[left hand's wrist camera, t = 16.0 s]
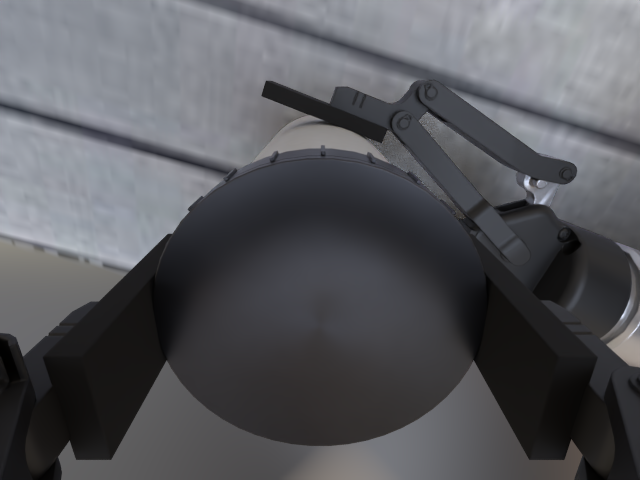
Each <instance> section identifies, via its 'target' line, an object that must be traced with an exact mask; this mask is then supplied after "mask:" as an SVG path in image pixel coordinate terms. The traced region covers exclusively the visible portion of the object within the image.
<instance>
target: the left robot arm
mask: <svg viewBox="0 0 640 480" xmlns="http://www.w3.org/2000/svg"><path fill="white" fill-rule="evenodd" d="M468 235H469V236H470V238H471V239H472V242H473V244H474V246H475V247H476V249H477V252H478V255H479V257H480V259H481V263H482V266H483V270H484V273H485V277H486V285H487V293H488V308H487V315H486V320H485V326H484V331H483V336H482V341H481V344H480V347H479V350H478V352H477V354H476V356H475V358H474V361H475V363H476V365H477V367H478V368H479V370H480V372H481V374H482V376H483V377H484V379H485V381H486V383H487V385H488V386H489V388H490V390H491V392H492V394H493V395H494V397H495V399H496V401H497V403H498V404H499V406H500V408H501V410H502V411H503V413H504V415H505V417H506V419H507V420H508V422H509V424H510V426H511V428H512V429H513V431H514V433H515V435H516V437H517V438H518V440H519V442H520V444H521V446H522V447H523V449H524V451H525V453H526V455H527V456H528V458H529V460H564V459H565V456H566V453H567V450H568V447H569V444H570V441H571V439H572V440H573V442H574V443H575V445H576V446H577V447H578V449H579V450H580V452H581V453H582V454H583V456H582V459H581V462H580V465H579V467H578V470H577V473H576V476H575V479H574V480H640V367H633V366H629V365H628V364H627V363H626V362H625V361H624V360H622V359H621V358H620V357H619V356H618V355H617V354H616V353H615V352H614V351H613V350H611V349H610V348H609V347H608V346H607V345H606V344H605V343H604V342H603V341H602V340H600V339H599V338H598V337H597V336H596V335H593V334H592V331H591V330H589V329H588V328H587V327H586V326H585V325H582V324H581V321H580V320H578V319H577V318H576V317H575V316H574V315H573V314H572V313H571V312H570V311H569V310H567V309H565V308H563V307H561V306H559V305H558V304H556V303H554V302H552V301H550V300H539V299H538V298H537V297H536V296H535V295H534V294H533V293H532V292H531V291H530V290H529V289H528V288H527V287H526V286H525V285H524V284H523V283H522V282H521V281H520V280H519V279H518V278H517V277H516V276H515V275H514V274H513V273H512V272H511V271H510V270H509V269H508V268H507V267H506V266H505V265H504V264H503V263H502V262H501V261H500V260H498V259H497V258H496V257H495V256H494V255H493V254H492V253H491V252H490V251H489V250H488V249H487V248H486V247H485V246H484V245H483V244H482V243H481V242H480V241H479V240H478V239H477V238H476V237H475V236H474V235H473V234H468ZM171 236H172V234H167V235H166V236H165V237H164V238H163V239H162V240H161V241H160V242H159V243H158V244H157V245H156V246H155V247H154V248H153V249H152V250H151V251H150V252H149V253H148V254H147V255H146V256H145V257H144V258H143V259H142V260H141V261H140V262H139V263H138V264H137V265H136V266H135V267H134V268H133V269H132V270H131V271H130V272H129V273H128V274H127V275H126V276H125V277H124V278H123V279H122V280H121V281H120V282H119V283H117V284H116V285H115V286H114V287H113V288H112V289H111V290H110V291H109V292H108V293H107V294H106V295H105V296H104V297H103V298H102V299H101V300H100V301H99V302H89V303H87V304H86V305H84V306H82V307H80V308H78V309H77V310H75V311H73V312H72V313H70V314H69V315H68V316H67V317H66V318H65V319H64V320H63V321H62V322H61V323H60V325H59V326H56V327H55V328H54V329H53V330H52V331H51V332H50V333H49V336H45V337H44V338H43V339H42V340H41V341H40V342H39V343H38V344H37V345H36V346H34V347H33V348H32V349H31V350H30V351H29V352H28V353H27V354H26V355H25V356H24V357H23V356H22V353H21V350H20V348H19V345H18V342H17V339H16V337H14V336H12V335H10V334H4V333H0V480H61V475H62V471H61V465H60V462H59V459H58V456H59V455H60V453H61V452H62V450H63V449H64V447H65V446H66V445H67V443H68V442H69V440H70V442H71V446H72V449H73V452H74V455H75V458H76V460H111V459H112V457H113V455H114V454H115V452H116V450H117V448H118V446H119V445H120V443H121V441H122V439H123V437H124V436H125V434H126V432H127V430H128V428H129V427H130V425H131V423H132V421H133V420H134V418H135V416H136V414H137V412H138V411H139V409H140V407H141V405H142V403H143V402H144V400H145V398H146V396H147V394H148V393H149V391H150V389H151V387H152V385H153V384H154V382H155V380H156V378H157V376H158V375H159V373H160V371H161V369H162V367H163V366H164V364H165V362H166V360H167V359H166V357H165V355H164V353H163V351H162V348H161V345H160V342H159V338H158V334H157V328H156V323H155V317H154V311H153V289H154V281H155V275H156V272H157V268H158V265H159V261H160V258H161V256H162V253H163V251H164V249H165V245H166V243H167V242H168V241H169V239H170V237H171Z"/></svg>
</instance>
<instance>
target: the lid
mask: <svg viewBox="0 0 640 480" xmlns="http://www.w3.org/2000/svg"><path fill="white" fill-rule="evenodd" d="M188 210H189V211H190V212H189V213H188V214H187V215H186V216H185V218H184V219H183V220H182V221H181V222H180V224H179V225H178V227H177V228H176V230H175V231H174V233H173V234H172V236H171V237H170V239H169V241H168V242H167V243H166V245H165V249H164V251H163V253H162V256H161V258H160V261H159V265H158V268H157V272H156V275H155V281H154V289H153V311H154V317H155V323H156V328H157V334H158V338H159V342H160V345H161V348H162V351H163V353H164V355H165V357H166V359H167V361H168V363H169V365H170V367H171V369H172V370H173V371H174V373H175V374H176V376H177V377H178V379H179V380H180V382H181V383H182V384H183V385H184V386H185V388H186V389H187V390H188V391H189V392H190V393H191V394H192V395H193V396H194V397H195V398H196V399H197V400H198V401H199V402H200V403H202V404H203V405H204V406H205V407H206V408H207V409H209V410H210V411H212V412H213V413H214V414H216V415H217V416H219V417H220V418H222V419H223V420H225V421H227V422H229V423H231V424H232V425H234V426H236V427H238V428H240V429H242V430H245V431H247V432H250V433H252V434H255V435H257V436H261V437H264V438H267V439H271V440H274V441H280V442H284V443H289V444H297V445H307V446H333V445H344V444H351V443H356V442H361V441H366V440H370V439H373V438H376V437H380V436H383V435H386V434H388V433H391V432H393V431H396V430H398V429H400V428H403V427H404V426H406V425H408V424H410V423H412V422H414V421H415V420H417V419H419V418H420V417H422V416H423V415H425V414H426V413H428V412H429V411H430V410H432V409H433V408H434V407H436V406H437V405H438V404H439V403H440V402H441V401H442V400H444V399H445V398H446V397H447V396H448V395H449V394H450V392H451V391H452V390H453V389H454V388H455V387H456V386H457V385H458V384H459V382H460V381H461V379H462V378H463V377H464V375H465V374H466V372H467V371H468V369H469V368H470V366H471V364H472V362H473V360H474V358H475V356H476V354H477V352H478V350H479V347H480V344H481V341H482V336H483V331H484V326H485V320H486V315H487V308H488V293H487V285H486V277H485V273H484V270H483V266H482V263H481V259H480V257H479V255H478V252H477V249H476V247H475V246H474V244H473V242H472V239H471V238H470V236H469V235H468V233H467V232H466V230H465V229H464V227H463V226H462V224H461V223H460V221H459V220H458V219H457V218H456V217H455V216H454V215H455V214H456V213H455V211H454V210H453V209H452V208H451V207H450V206H448V205H447V204H446V203H445V202H444V201H443V200H439V199H438V198H437V197H436V196H435V195H434V194H433V193H432V192H431V191H430V190H428V189H427V188H426V187H425V186H424V185H422V184H421V181H420V180H419V179H418V178H417V177H416V176H415V175H414V174H413V173H412V172H410V171H409V172H408V173H406V172H404V171H403V170H401V169H399V168H398V167H396V166H394V165H392V164H389V163H387V162H385V161H382V160H380V159H378V158H375V157H374V156H373V155H372V153H370V152H367V155H365V154H361V153H358V152H354V151H347V150H340V149H332V148H325V145H321V148H308V149H301V150H293V151H287V152H283V153H278V151H274V152H273V154H272V155H271V156H268V157H265V158H263V159H260V160H258V161H256V162H253V163H251V164H249V165H246V166H245V167H243V168H241V169H240V170H238V171H237V170H236V168H235V169H233V170H232V171H231V172H230V173H229V174H228V175H227V176H226V177H225V178H224V180H223V181H222V182H221V183H219V184H218V185H217V186H216V187H214V188H213V189H212V190H211V191H210V192H209V193H208V194H207V195H206V196H205V197H203V196H201V197H200V198H199V199H198V200H197V201H196V202H194V203H193V204H192V205H191V206H190V207H189V208H188Z"/></svg>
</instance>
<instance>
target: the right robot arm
mask: <svg viewBox="0 0 640 480" xmlns="http://www.w3.org/2000/svg"><path fill="white" fill-rule="evenodd" d="M262 96H263V97H265V98H268V99H270V100H273V101H275V102H278V103H280V104H283V105H286V106H288V107H291V108H293V109H296V110H298V111H301V112H303V113H306V114H308V115H311V116H314V117H316V118H319V119H321V120H324V121H326V122H329V123H331V124H334V125H337V126H339V127H342V128H344V129H347V130H349V131H352V132H354V133H357V134H359V135H362V136H365V137H367V138H370V139H372V140H375V141H377V142H380V143H382V141H383V139H384V136H385V134H386V132H387V130H390V131H391V132H392V133H393V134H394V135H395V136H396V138H397V139H398V140H399V141H400V142H401V143H402V144H403V146H404V147H405V148H406V149H407V150H408V151H409V152H410V154H411V155H412V156H413V157H414V158H415V159H416V160H417V161H418V163H419V164H420V165H421V166H422V167H423V168H424V169H425V171H426V172H427V173H428V174H429V175H430V176H431V177H432V178H433V180H434V181H435V182H436V183H437V184H438V185H439V186H440V188H441V189H442V190H443V191H444V192H445V193H446V194H447V195H448V197H449V198H450V199H451V200H452V201H453V203H454V204H455V205H456V206H457V207H458V209H459V210H460V211H461V212H462V213H463V214H464V215H465V217H466V218H464V220H462V219H459V221H460V223H461V224H462V226H463V227H464V229H465V230H466V232H467V233H468V234H473V235H474V236H475V237H476V238H477V239H478V240H479V241H480V242H481V243H482V244H483V245H484V246H485V247H486V248H487V249H488V250H489V251H490V252H491V253H492V254H493V255H494V256H495V257H496V258H497V259H498V260H500V261H501V262H502V263H503V264H504V265H505V266H506V267H507V268H508V269H509V270H510V271H511V272H512V273H513V274H514V275H515V276H516V277H517V278H518V279H519V280H520V281H521V282H522V283H523V284H524V285H525V286H526V287H527V288H528V289H529V290H530V291H531V292H532V293H533V294H534V295H535V296H536V297H537V298H538V299H539V300H550V301H552V302H554V303H556V304H558V305H559V306H561V307H563V308H565V309H567V310H569V311H570V312H571V313H572V314H573V315H574V316H575V317H576V318H577V319H578V320H580V321H581V324H582V325H585V326H586V327H587V328H588V329H589V330H591V331H592V334H593V335H596V336H597V337H598V338H599V339H600V340H602V341H603V342H604V343H605V344H606V345H607V346H608V347H609V348H610V349H611V350H613V351H614V352H615V353H616V354H617V355H618V356H619V357H620V358H621V359H622V360H624V361H625V362H626V363H627V364H628V365H629V366H633V367H640V251H639V250H636V249H634V248H631V247H629V246H626V245H623V244H621V243H618V242H614V241H612V240H611V239H608V238H606V237H604V236H601V235H599V234H596V233H593V232H591V231H588V230H586V229H583V228H581V227H578V226H575V225H573V224H570V223H568V222H565V221H563V220H560V219H558V218H557V217H556V215H555V214H554V212H553V211H552V210H551V209H550V208H549V207H550V205H551V202H552V200H553V198H554V196H555V194H556V191H557V189H558V187H559V185H560V184H567V183H570V182H571V181H572V180H573V179H574V178H575V176H576V173H577V168H576V166H575V165H574V164H572V163H570V162H567V161H564V160H561V159H557V158H554V157H551V156H548V155H544V154H539V153H536V152H535V151H533V150H532V149H531V148H529V147H528V146H527V145H525V144H524V143H522V142H521V141H520V140H518V139H517V138H515V137H514V136H513V135H511V134H510V133H509V132H507V131H506V130H504V129H503V128H502V127H500V126H499V125H498V124H496V123H495V122H493V121H492V120H491V119H489V118H488V117H486V116H485V115H484V114H482V113H481V112H480V111H478V110H477V109H475V108H474V107H473V106H471V105H470V104H469V103H467V102H466V101H464V100H463V99H462V98H460V97H459V96H457V95H456V94H455V93H453V92H452V91H451V90H449V89H448V88H446V87H445V86H444V85H442V84H441V83H439V82H438V81H436V80H420V81H416V82H414V83H413V84H412V85H411V86H410V89H409V91H408V92H407V93H406V94H405V95H404V96H403V97H402V98H401V99H400V100H399V101H398V102H396V103H392V104H388V103H386V102H384V101H381V100H379V99H376V98H374V97H371V96H369V95H366V94H364V93H362V92H359V91H357V90H354V89H352V88H349V87H336V88H335V91H334V93H333V96H332V99H331V102H330V104H328V103H326V102H323V101H321V100H318V99H316V98H313V97H311V96H308V95H306V94H303V93H301V92H298V91H296V90H293V89H291V88H288V87H286V86H283V85H281V84H278V83H276V82H273V81H266V83H265V86H264V89H263V93H262ZM426 112H428V113H430V114H431V115H433V116H434V117H435V118H437V119H438V120H440V121H441V122H443V123H444V124H445V125H447V126H448V127H450V128H451V129H453V130H454V131H455V132H457V133H458V134H460V135H461V136H463V137H464V138H465V139H467V140H468V141H470V142H471V143H473V144H474V145H475V146H477V147H478V148H480V149H481V150H483V151H484V152H485V153H487V154H488V155H490V156H491V157H493V158H494V159H495V160H497V161H498V162H500V163H502V164H503V165H505V166H507V167H509V168H511V169H514V170H516V171H518V172H517V173H516V181H517V184H518V185H519V186H521V187H523V188H524V189H525V190H526V192H527V197H526V199H523V200H519V201H515V202H511V203H508V204H504V205H500V206H496V207H492V206H491V205H490V204H489V203H488V202H487V201H486V200H485V199H484V198H483V197H482V196H481V195H480V193H479V192H478V191H477V190H476V189H475V188H474V186H473V185H472V184H471V183H470V182H469V180H468V179H467V178H466V177H465V176H464V175H463V173H462V172H461V171H460V170H459V169H458V167H457V166H456V165H455V164H454V163H453V162H452V160H451V159H450V158H449V157H448V156H447V154H446V153H445V152H444V151H443V150H442V149H441V147H440V146H439V145H438V144H437V143H436V142H435V140H434V139H433V138H432V137H431V136H430V134H429V133H428V132H427V131H426V130H425V129H424V127H423V126H422V125H421V124H420V123H419V121H418V120H419V119H420V118H421V117H422V116H423V115H424V114H425V113H426Z"/></svg>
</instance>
